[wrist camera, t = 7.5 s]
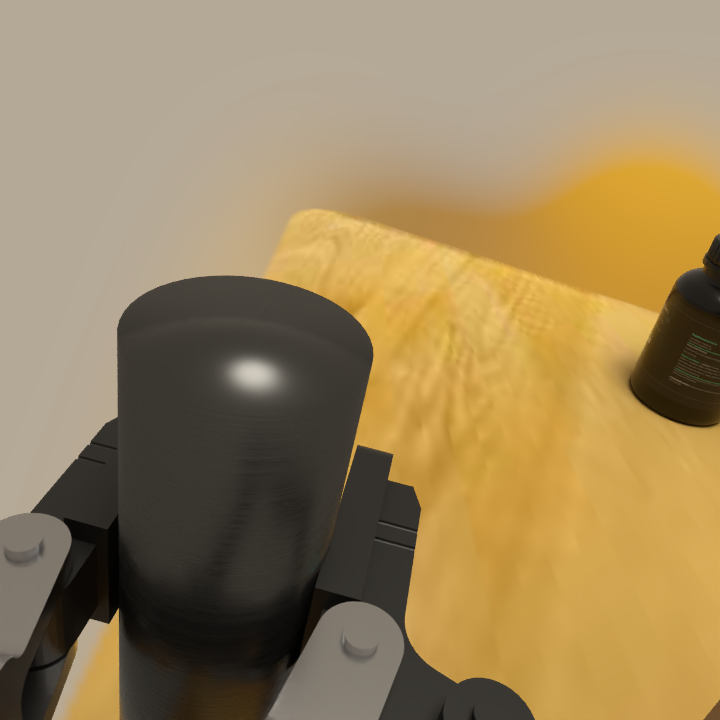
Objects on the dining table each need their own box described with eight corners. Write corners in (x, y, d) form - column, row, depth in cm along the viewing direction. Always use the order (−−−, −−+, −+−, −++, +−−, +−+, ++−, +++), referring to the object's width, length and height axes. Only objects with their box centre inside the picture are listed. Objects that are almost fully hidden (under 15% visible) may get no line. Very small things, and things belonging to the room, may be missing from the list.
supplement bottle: (636, 361, 54) (704, 218, 47) (726, 398, 52) (810, 252, 45) (619, 399, 48) (694, 243, 42) (719, 442, 46) (814, 284, 40)
